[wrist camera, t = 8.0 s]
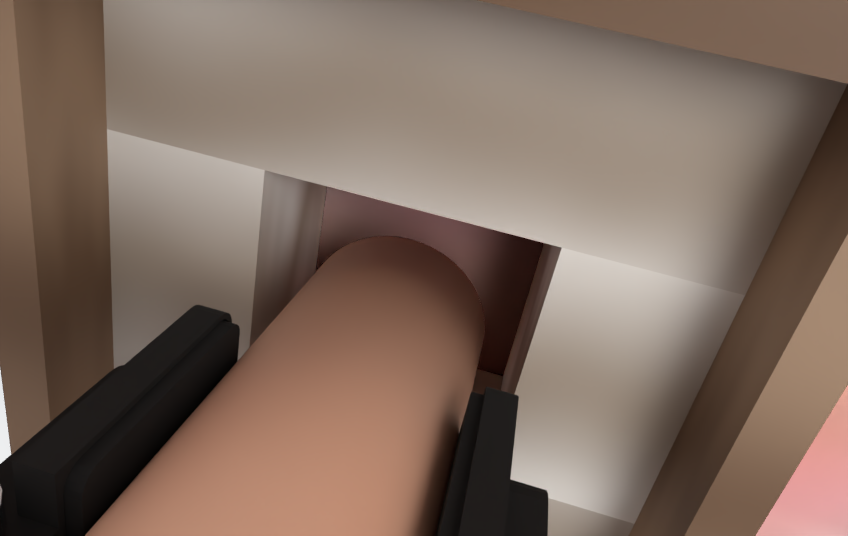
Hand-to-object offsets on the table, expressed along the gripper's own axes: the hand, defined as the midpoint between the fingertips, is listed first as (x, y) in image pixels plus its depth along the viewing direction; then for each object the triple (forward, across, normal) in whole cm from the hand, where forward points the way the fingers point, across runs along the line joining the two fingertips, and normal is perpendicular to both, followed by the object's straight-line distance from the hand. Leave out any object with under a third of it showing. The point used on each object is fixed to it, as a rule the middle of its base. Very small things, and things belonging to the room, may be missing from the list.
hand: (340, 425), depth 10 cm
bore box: (+7, 0, 0) cm, 7 cm away
